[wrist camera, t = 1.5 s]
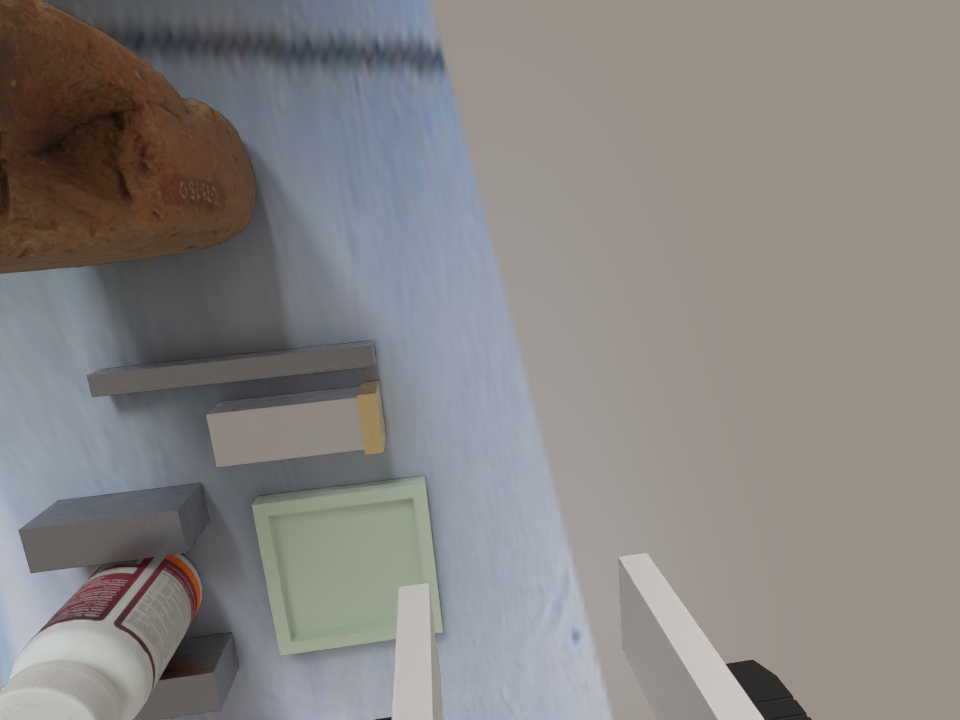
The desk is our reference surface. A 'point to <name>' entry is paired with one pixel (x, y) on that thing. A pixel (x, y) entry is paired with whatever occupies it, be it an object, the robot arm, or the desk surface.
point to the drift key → (298, 425)
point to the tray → (344, 561)
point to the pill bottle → (105, 643)
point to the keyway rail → (231, 368)
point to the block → (105, 152)
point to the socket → (129, 536)
